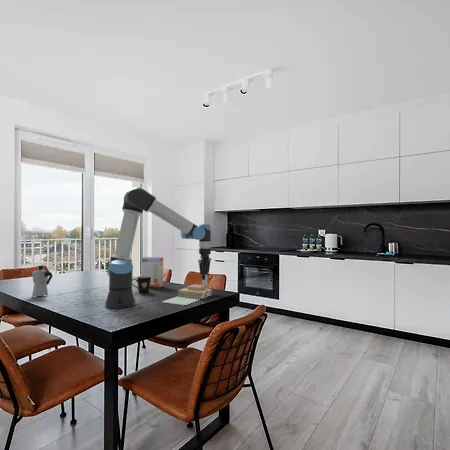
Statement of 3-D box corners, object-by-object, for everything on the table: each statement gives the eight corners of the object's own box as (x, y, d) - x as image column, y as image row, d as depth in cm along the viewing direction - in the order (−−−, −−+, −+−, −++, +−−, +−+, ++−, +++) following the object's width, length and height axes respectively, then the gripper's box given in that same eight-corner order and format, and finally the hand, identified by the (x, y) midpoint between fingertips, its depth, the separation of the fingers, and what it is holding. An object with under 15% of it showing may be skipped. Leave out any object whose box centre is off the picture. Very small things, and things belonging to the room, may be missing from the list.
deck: (200, 299, 174) (200, 292, 174) (177, 296, 181) (177, 290, 181) (212, 295, 186) (212, 288, 186) (190, 292, 193) (190, 286, 193)
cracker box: (163, 286, 214) (163, 257, 214) (159, 287, 208) (159, 257, 209) (145, 285, 218) (146, 256, 218) (141, 286, 212) (141, 257, 212)
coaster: (198, 291, 179) (198, 287, 179) (187, 289, 182) (187, 286, 183) (205, 288, 186) (205, 285, 186) (194, 287, 190) (194, 284, 190)
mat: (185, 305, 160) (185, 305, 160) (161, 302, 167) (161, 301, 167) (200, 300, 173) (200, 299, 173) (177, 297, 180) (177, 296, 180)
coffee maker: (25, 296, 177) (25, 265, 177) (38, 293, 185) (39, 264, 186) (44, 298, 173) (45, 267, 173) (57, 295, 181) (58, 265, 181)
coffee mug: (152, 291, 197) (152, 275, 197) (148, 294, 188) (148, 277, 188) (135, 290, 198) (135, 275, 198) (130, 293, 189) (130, 277, 189)
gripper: (204, 248, 186) (204, 286, 186) (214, 247, 198) (214, 283, 198) (194, 248, 190) (194, 285, 189) (204, 247, 201) (204, 282, 201)
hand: (204, 284), depth 193 cm, fingers closed
